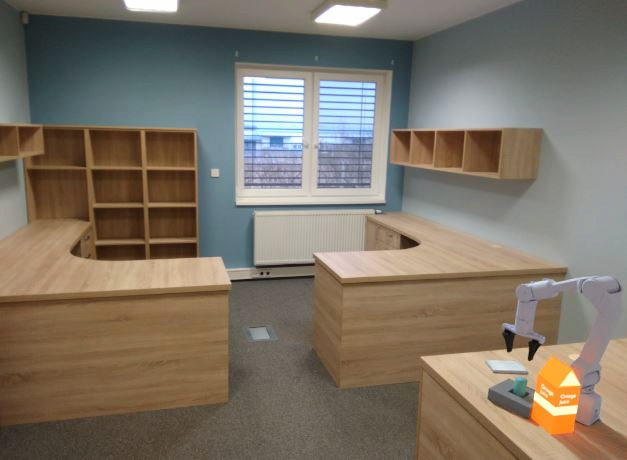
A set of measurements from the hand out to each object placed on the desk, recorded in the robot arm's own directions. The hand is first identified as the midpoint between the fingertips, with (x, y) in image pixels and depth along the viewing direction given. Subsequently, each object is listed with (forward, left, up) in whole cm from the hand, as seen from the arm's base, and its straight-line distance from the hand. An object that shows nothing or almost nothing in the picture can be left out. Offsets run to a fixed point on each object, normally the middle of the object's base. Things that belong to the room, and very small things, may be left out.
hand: (519, 355), depth 173 cm
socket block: (-8, +13, -9) cm, 18 cm away
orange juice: (-21, +16, -10) cm, 28 cm away
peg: (-8, +13, -9) cm, 18 cm away
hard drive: (+8, -6, -10) cm, 14 cm away
